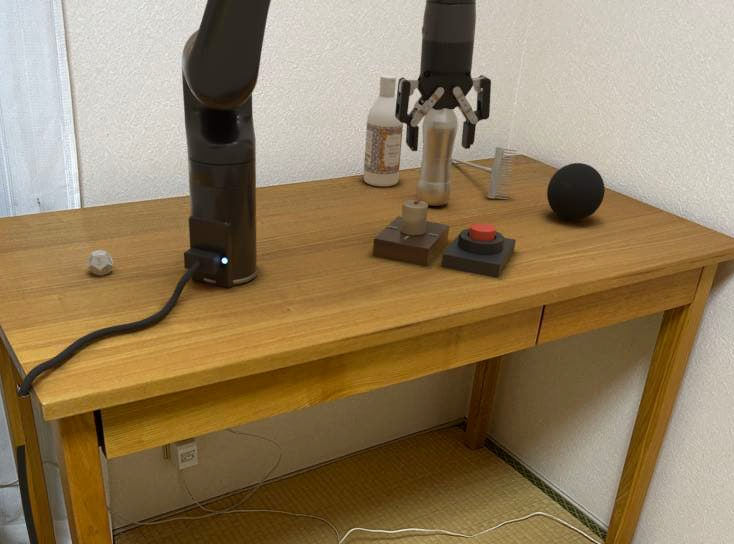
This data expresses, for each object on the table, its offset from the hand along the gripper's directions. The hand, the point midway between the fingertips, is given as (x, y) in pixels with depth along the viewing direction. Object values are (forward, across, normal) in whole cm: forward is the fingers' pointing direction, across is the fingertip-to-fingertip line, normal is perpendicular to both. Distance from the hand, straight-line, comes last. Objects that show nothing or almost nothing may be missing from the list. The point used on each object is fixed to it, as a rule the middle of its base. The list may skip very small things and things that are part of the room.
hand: (439, 148), depth 127 cm
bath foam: (+16, 0, +34) cm, 38 cm away
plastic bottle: (+16, +6, +20) cm, 27 cm away
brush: (+17, +20, +35) cm, 44 cm away
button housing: (+16, +5, -7) cm, 18 cm away
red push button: (+12, +6, -7) cm, 15 cm away
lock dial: (+12, -4, -2) cm, 13 cm away
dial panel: (+15, -4, -2) cm, 16 cm away
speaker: (+17, +30, +10) cm, 36 cm away
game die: (+14, -53, -7) cm, 55 cm away
